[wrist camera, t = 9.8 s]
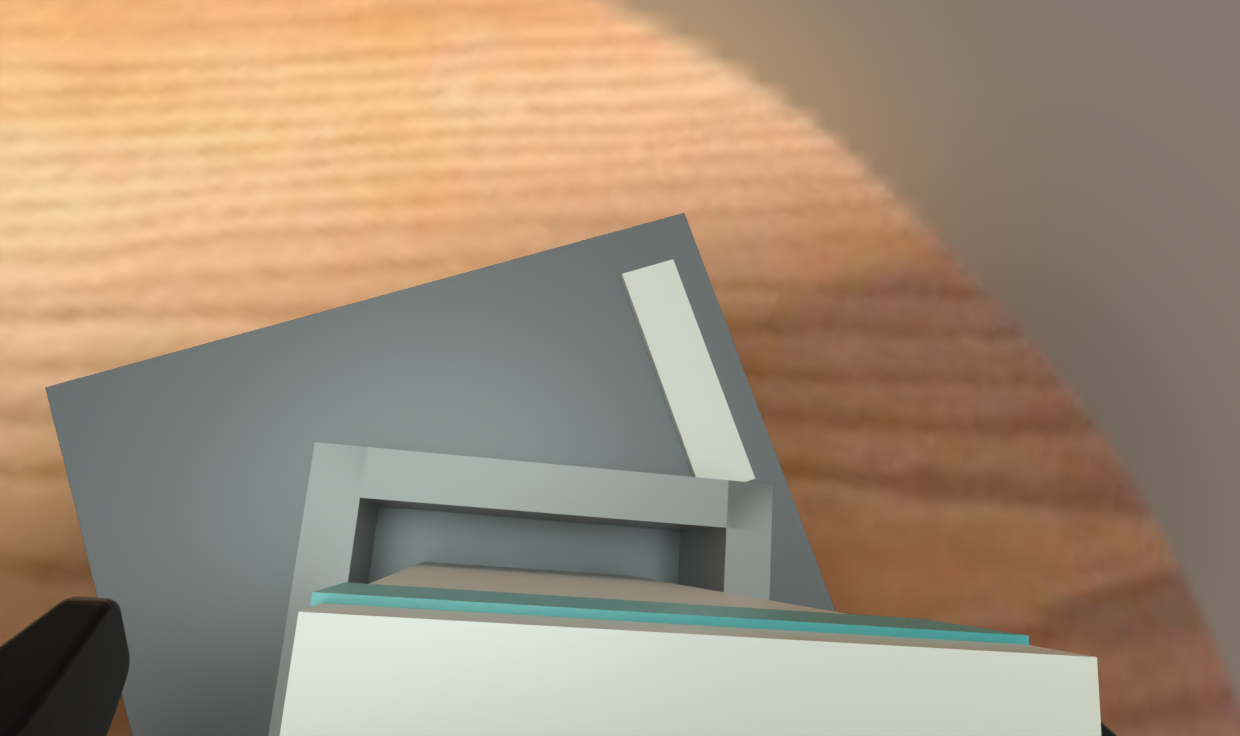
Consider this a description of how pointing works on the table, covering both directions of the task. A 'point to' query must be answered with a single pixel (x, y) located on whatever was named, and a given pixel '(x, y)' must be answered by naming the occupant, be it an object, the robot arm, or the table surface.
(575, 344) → the port panel
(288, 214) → the table surface
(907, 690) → the plug
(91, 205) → the table surface
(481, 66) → the table surface
